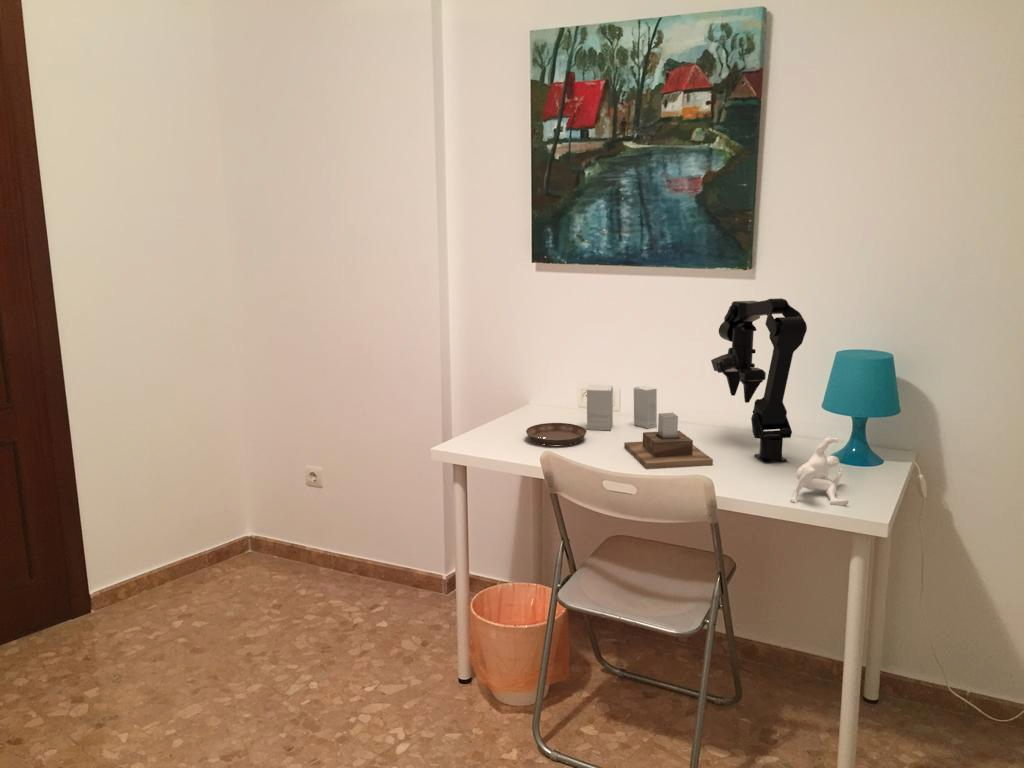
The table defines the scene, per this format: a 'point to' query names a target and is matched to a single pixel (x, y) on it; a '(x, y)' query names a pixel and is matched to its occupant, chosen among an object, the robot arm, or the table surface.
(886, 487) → the table surface
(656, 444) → the socket block
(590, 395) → the supplement box
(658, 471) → the table surface
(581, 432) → the plant saucer
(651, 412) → the skincare box
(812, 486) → the person figurine
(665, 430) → the steel peg
